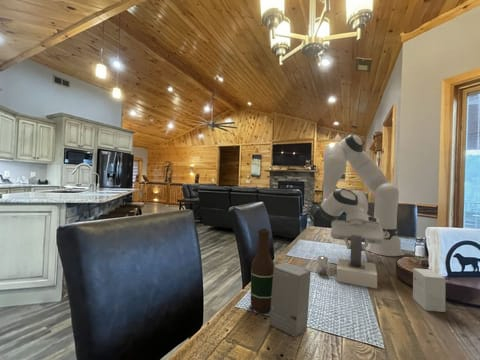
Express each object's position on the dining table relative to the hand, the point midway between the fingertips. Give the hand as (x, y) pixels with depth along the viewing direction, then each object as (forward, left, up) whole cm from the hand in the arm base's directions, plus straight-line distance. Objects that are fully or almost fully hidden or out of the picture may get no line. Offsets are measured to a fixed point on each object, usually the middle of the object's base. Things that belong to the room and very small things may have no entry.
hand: (356, 249), depth 100 cm
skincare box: (+45, -16, -12) cm, 49 cm away
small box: (+13, +21, -12) cm, 28 cm away
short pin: (+1, -13, -12) cm, 17 cm away
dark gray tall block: (-1, 0, -7) cm, 7 cm away
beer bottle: (+39, -26, -12) cm, 48 cm away
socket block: (-1, 0, -12) cm, 12 cm away
